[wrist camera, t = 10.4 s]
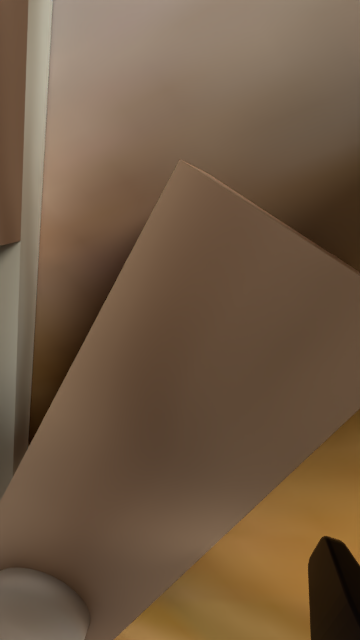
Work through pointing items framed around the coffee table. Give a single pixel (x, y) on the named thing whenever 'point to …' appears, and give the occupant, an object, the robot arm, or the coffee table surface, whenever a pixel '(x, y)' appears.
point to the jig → (20, 211)
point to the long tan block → (177, 411)
